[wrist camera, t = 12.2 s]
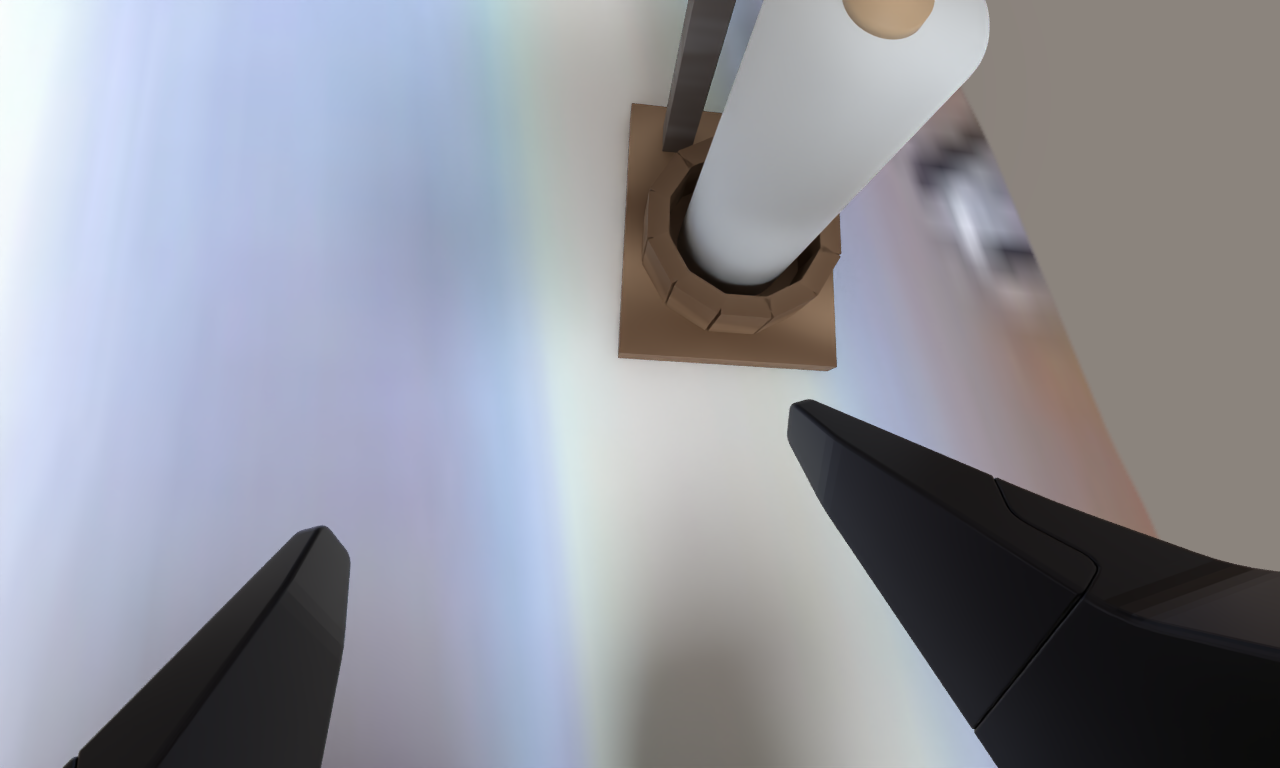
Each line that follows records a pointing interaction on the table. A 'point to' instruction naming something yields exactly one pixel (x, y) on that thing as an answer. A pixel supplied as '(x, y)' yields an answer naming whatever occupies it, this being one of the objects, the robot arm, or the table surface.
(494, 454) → the table surface
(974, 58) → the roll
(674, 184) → the stand
